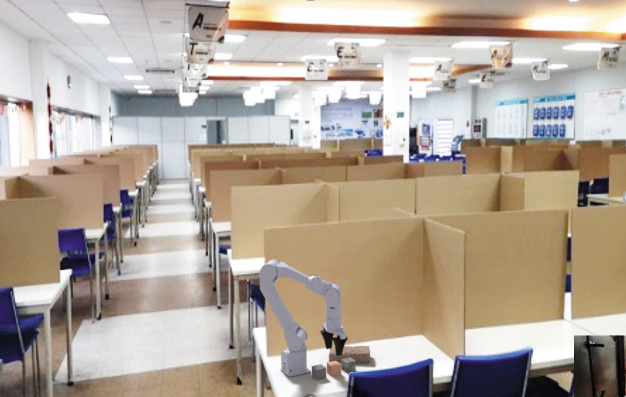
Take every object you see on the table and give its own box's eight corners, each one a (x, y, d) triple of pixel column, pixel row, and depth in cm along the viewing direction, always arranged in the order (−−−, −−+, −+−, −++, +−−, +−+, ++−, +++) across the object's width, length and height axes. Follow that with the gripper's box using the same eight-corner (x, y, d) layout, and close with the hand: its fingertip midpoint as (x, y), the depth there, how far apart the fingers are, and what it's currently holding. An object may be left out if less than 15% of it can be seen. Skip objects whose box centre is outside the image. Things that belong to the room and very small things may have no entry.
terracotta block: (332, 376, 210) (332, 366, 209) (326, 372, 213) (326, 362, 213) (341, 374, 212) (341, 364, 211) (335, 370, 215) (335, 360, 215)
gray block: (316, 380, 207) (316, 369, 206) (311, 376, 210) (311, 366, 210) (326, 378, 209) (326, 367, 208) (321, 374, 212) (320, 364, 212)
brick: (328, 363, 223) (328, 352, 222) (329, 355, 231) (329, 344, 231) (370, 364, 222) (370, 353, 221) (369, 356, 230) (369, 345, 229)
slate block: (346, 373, 213) (346, 363, 212) (341, 369, 216) (341, 359, 216) (355, 371, 215) (355, 360, 214) (350, 367, 218) (350, 357, 218)
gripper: (352, 320, 206) (353, 356, 207) (333, 310, 219) (333, 343, 220) (336, 323, 202) (336, 359, 204) (317, 313, 215) (317, 347, 217)
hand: (333, 351), depth 212 cm, fingers open, 7 cm apart
